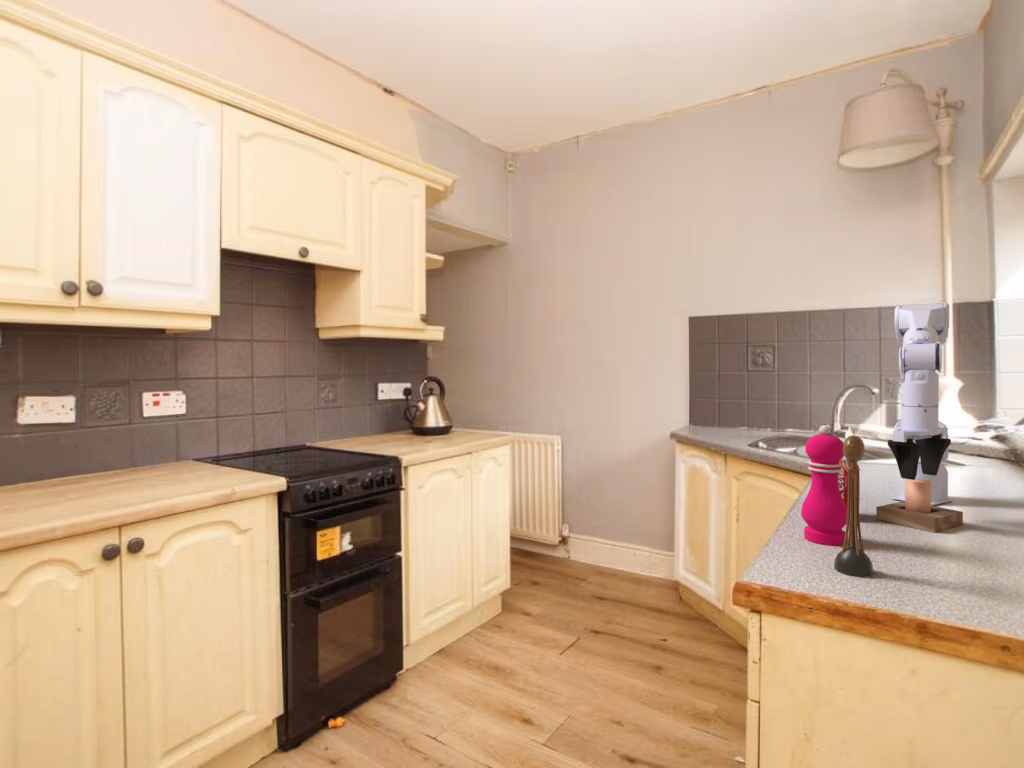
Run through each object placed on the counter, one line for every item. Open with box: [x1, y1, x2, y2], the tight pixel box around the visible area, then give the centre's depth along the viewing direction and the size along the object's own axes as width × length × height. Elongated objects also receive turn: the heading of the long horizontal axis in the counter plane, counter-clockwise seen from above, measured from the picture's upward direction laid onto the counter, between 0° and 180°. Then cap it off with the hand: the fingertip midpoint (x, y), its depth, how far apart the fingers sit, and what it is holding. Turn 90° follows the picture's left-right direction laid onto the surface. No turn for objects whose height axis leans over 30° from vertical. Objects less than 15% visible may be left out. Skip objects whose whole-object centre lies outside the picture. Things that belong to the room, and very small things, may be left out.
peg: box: [905, 479, 931, 514], centre depth 105 cm, size 4×4×8 cm
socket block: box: [875, 501, 964, 533], centre depth 105 cm, size 10×10×2 cm
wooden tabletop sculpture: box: [833, 435, 874, 578], centre depth 81 cm, size 6×5×20 cm
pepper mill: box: [800, 424, 847, 546], centre depth 95 cm, size 7×7×20 cm
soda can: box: [838, 456, 861, 507], centre depth 110 cm, size 7×7×12 cm
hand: (919, 476), depth 105 cm, fingers open, 7 cm apart
